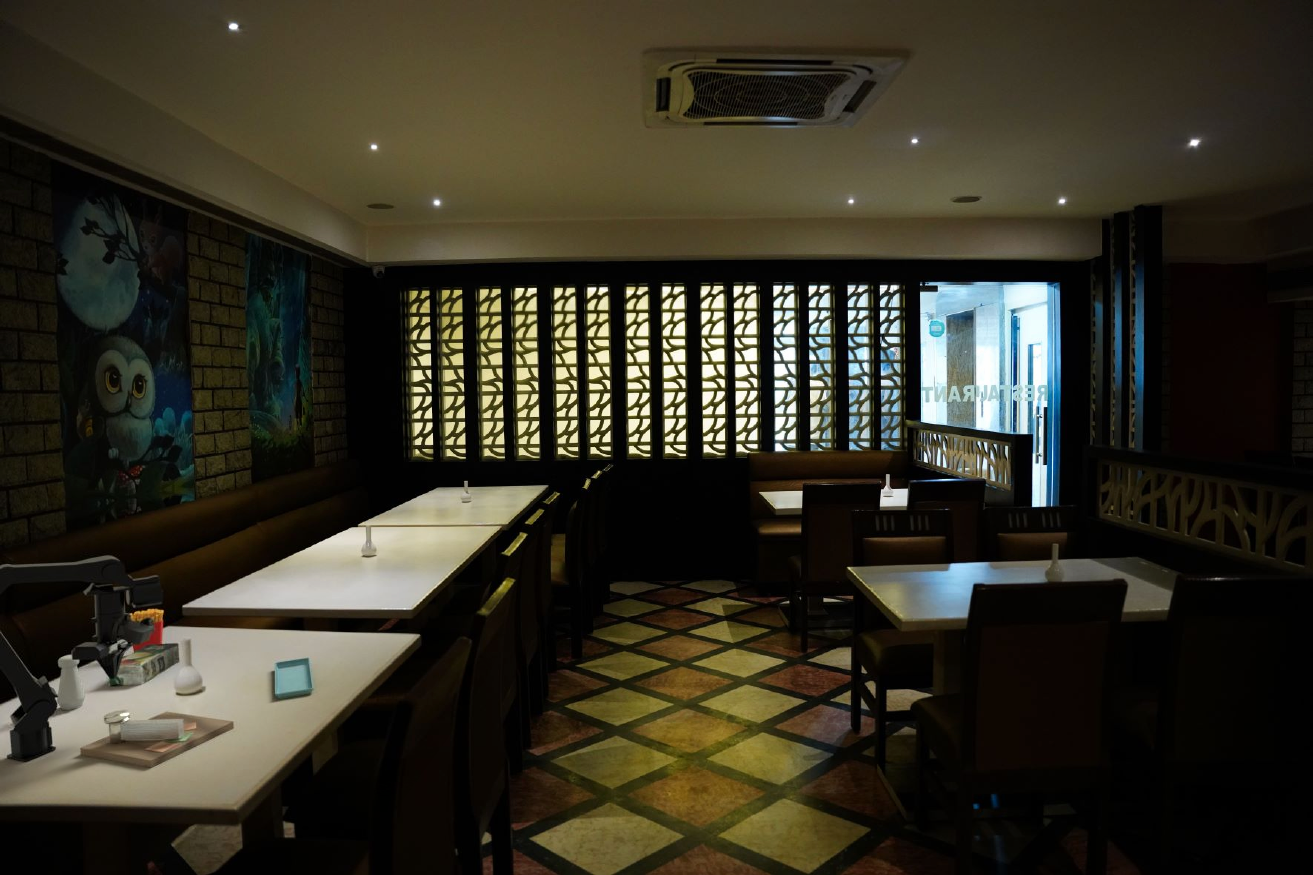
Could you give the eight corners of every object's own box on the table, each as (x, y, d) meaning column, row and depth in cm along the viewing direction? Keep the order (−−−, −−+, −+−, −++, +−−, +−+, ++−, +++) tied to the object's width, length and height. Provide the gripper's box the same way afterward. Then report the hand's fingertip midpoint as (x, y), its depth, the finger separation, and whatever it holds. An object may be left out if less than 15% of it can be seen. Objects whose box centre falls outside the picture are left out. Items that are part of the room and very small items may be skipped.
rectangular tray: (314, 695, 214) (313, 686, 214) (275, 702, 210) (274, 692, 210) (310, 665, 238) (309, 657, 238) (274, 671, 234) (274, 662, 234)
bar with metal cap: (100, 744, 181) (98, 718, 181) (114, 735, 186) (112, 710, 186) (175, 743, 181) (173, 717, 181) (187, 733, 186) (186, 708, 186)
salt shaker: (71, 712, 206) (67, 660, 205) (51, 710, 207) (47, 659, 206) (91, 703, 211) (87, 652, 211) (72, 702, 213) (68, 652, 212)
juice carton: (142, 686, 223) (141, 663, 223) (105, 688, 223) (103, 665, 223) (181, 662, 244) (180, 641, 243) (146, 664, 243) (145, 643, 243)
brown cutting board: (151, 767, 174) (150, 759, 174) (80, 754, 181) (80, 746, 181) (233, 727, 193) (233, 720, 193) (167, 717, 201) (166, 710, 201)
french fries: (129, 656, 249) (126, 613, 248) (134, 652, 253) (131, 610, 252) (164, 653, 251) (161, 610, 250) (168, 649, 255) (165, 607, 254)
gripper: (119, 621, 182) (122, 692, 183) (169, 601, 200) (171, 665, 201) (68, 622, 182) (71, 692, 182) (122, 601, 200) (124, 665, 201)
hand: (112, 678), depth 192 cm, fingers closed
